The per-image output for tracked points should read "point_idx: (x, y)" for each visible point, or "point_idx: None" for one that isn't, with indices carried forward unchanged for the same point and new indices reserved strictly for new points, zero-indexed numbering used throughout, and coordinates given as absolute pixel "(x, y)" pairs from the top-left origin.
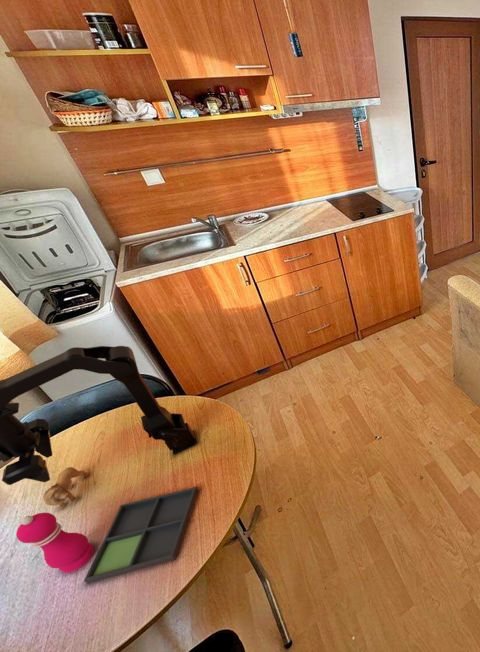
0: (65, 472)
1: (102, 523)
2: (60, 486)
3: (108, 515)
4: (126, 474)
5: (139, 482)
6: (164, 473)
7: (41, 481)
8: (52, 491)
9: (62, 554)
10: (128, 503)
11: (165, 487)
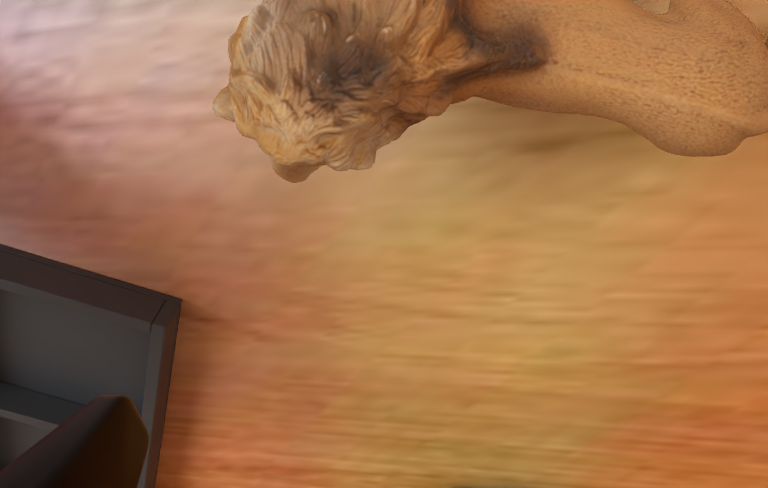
0: (674, 130)
1: (117, 206)
2: (468, 95)
3: (166, 232)
4: (473, 310)
5: (347, 360)
6: (339, 445)
7: (47, 440)
8: (283, 150)
9: None
10: (160, 356)
11: (235, 440)
